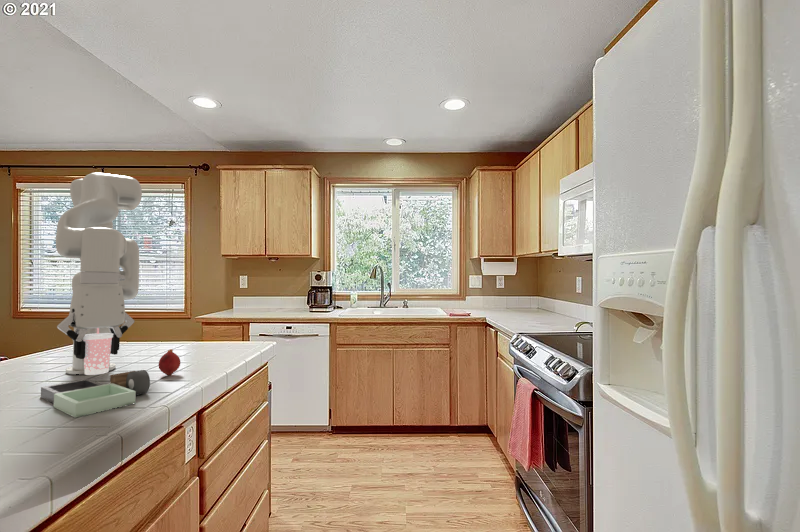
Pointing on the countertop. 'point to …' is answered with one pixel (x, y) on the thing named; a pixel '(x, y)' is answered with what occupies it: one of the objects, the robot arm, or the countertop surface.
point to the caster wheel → (138, 381)
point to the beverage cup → (97, 353)
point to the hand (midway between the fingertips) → (97, 355)
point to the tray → (93, 399)
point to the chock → (119, 379)
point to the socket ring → (66, 388)
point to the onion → (169, 363)
